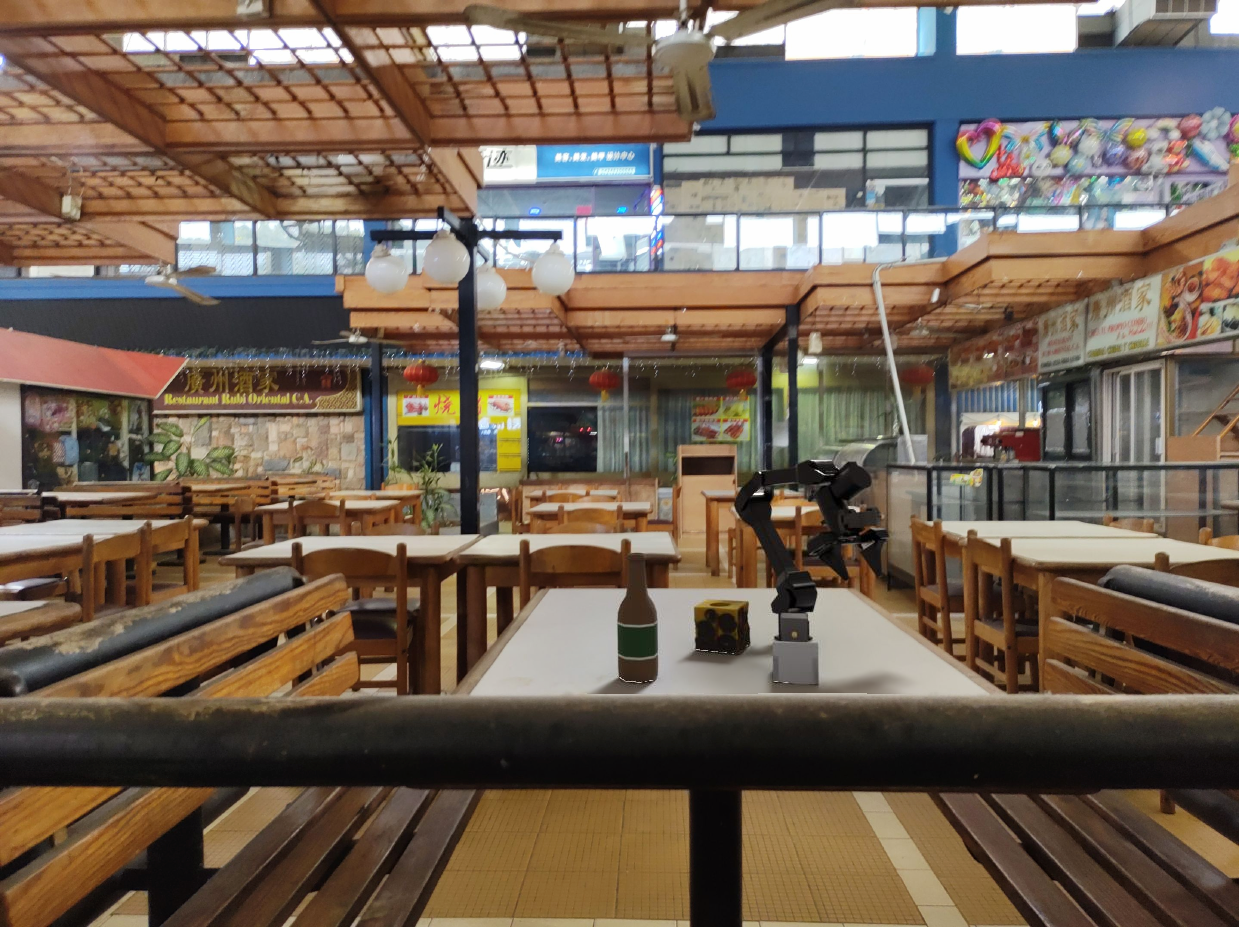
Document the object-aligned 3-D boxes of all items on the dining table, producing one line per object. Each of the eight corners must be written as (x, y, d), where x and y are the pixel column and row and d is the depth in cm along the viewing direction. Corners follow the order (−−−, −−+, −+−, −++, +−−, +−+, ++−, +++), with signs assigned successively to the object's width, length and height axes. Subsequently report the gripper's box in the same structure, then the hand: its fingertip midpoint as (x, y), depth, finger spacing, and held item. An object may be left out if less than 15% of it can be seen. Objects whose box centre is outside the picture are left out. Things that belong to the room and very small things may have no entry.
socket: (773, 669, 143) (773, 630, 143) (816, 670, 141) (815, 631, 141) (773, 682, 134) (772, 641, 134) (818, 684, 132) (818, 642, 132)
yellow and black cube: (751, 645, 163) (750, 601, 163) (739, 655, 154) (738, 609, 154) (708, 641, 167) (707, 598, 167) (693, 651, 158) (693, 606, 158)
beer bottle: (616, 673, 142) (614, 551, 142) (655, 671, 142) (653, 550, 142) (619, 685, 134) (617, 556, 134) (661, 683, 134) (659, 555, 135)
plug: (782, 661, 148) (781, 612, 148) (807, 662, 147) (806, 613, 147) (782, 669, 142) (781, 619, 142) (808, 671, 141) (807, 619, 141)
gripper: (825, 494, 144) (856, 566, 137) (891, 491, 153) (923, 559, 146) (793, 519, 153) (820, 588, 146) (857, 515, 162) (886, 580, 155)
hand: (864, 578), depth 148 cm, fingers open, 9 cm apart
